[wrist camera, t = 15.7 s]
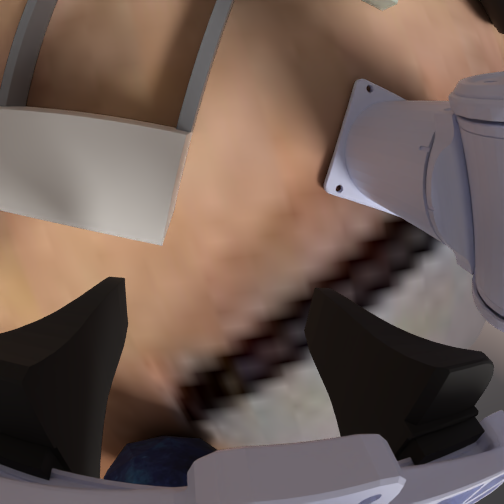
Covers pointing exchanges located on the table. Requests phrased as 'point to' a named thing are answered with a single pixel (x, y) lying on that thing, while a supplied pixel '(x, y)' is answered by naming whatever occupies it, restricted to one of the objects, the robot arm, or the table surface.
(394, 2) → the tray
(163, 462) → the decorative orb
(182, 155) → the printer bay
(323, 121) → the table surface
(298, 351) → the table surface
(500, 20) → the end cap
